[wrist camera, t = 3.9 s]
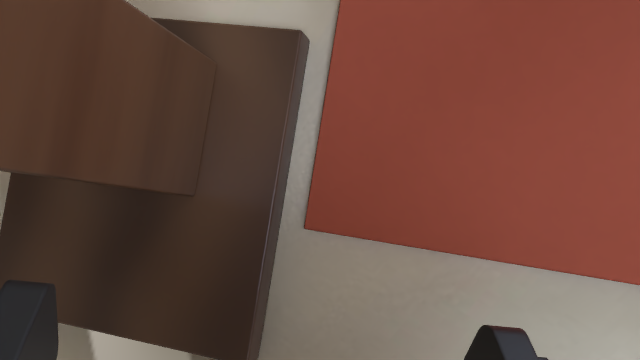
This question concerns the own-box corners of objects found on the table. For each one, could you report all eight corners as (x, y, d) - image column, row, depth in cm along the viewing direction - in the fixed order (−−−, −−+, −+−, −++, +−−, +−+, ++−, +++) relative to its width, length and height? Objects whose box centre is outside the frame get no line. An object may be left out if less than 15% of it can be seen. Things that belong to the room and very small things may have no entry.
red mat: (306, 228, 22) (303, 228, 22) (373, -190, 23) (371, -197, 23) (975, 340, 17) (986, 343, 17) (1030, -195, 18) (1042, -205, 18)
